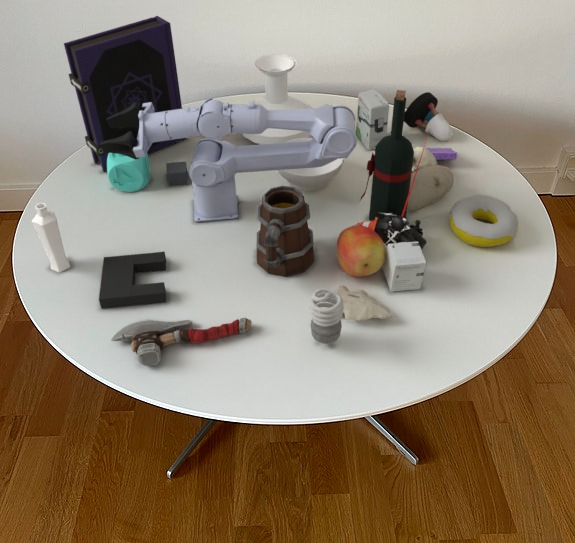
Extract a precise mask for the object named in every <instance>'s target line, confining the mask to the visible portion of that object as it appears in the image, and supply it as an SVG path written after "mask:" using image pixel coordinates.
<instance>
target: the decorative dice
mask: <svg viewBox="0 0 575 543" xmlns="http://www.w3.org/2000/svg"><path fill="white" fill-rule="evenodd" d="M106 172H107V178H108V181H109V183H110V185H111V186H112V187H113V188H115V189H117V190H119V191H121V192H125V193H132V192H134V193H135V192H139V191H141V190H142V189H145V187H146V186H148V185H149V183H150V178H151V177H150V176H151V166H150V158H149V154H147V153H146V156H145V157H139V159H133V158H131V157H128V156H125V155H121V154H116V153H109V154H108V158H107V171H106Z"/></svg>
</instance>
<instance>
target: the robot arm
mask: <svg viewBox="0 0 575 543" xmlns="http://www.w3.org/2000/svg"><path fill="white" fill-rule="evenodd" d="M154 111H155V109H154V107H153V104H152V102H149V103H143V106H142V107H140V106H139V103H138V102H134V103H133V104H132V105H131V106H129V107H128V108H127V109H125V110H123V111H121V112H119V113H117V114H115V115H113V116H110V117H108V118H107V122H108V124H109V126H110V128H121V127H136V128H139V132H138V137H137V139H135V138H134V136H133V134H132V132H131V131H129V132H128V133H126V134H125V135H123V136H120V137H118V138H115V139H110V140H106V141H103V142H101V143H100V146H101V148H102V150H103V152H107V153H116V154H121V155H125V156H128V157H131V158H133V159H139V157H145V156H146V153H147V151H148V149H149V148H150V146H151V145H152V143H153V142H160V141H167V140H174V139H180V138H186V139H187V138H194V137H201V136H203V137H205V138H202V139H200V140H199V141H197V142H196V143H195V145H194V149H193V156H192V160H191V163H190V166H189V169H188V176H189V178H190V180H191V185H192V190H193V191H192V192H193V198H194V199H193V217H194V222H195V223H201V222H202V223H203V222H213V221H224V220H235V219H238V218H239V210H238V204H239V196H238V195H237V187H236V177H235V175H236V174H240V173H241V174H242V173H255V172H271V171H278V170H286V169H301V168H316V167H322V166H325V165H327V164H329V163H331V162H332V161H334V160H336V159H342V158H344V159H347V158H348V157H350V155H351V154H352V153H353V151H354V150H355V148H356V146H357V144H358V136H357V135H356V123H355V122H356V115H355V113H354V111H353V109H351V107H349V106H346V105H343V104H338V105H333V104H324V105H321V106H317V107H311V108H308V109H288V110H267V109H266V108H264V107H263V106H262V105H261V104H255V102H252V101H248V102H247V103H230V102H222V101H220V100H217V99H213V97H210V98H208V99H206V100H204V101H203V102H202V103H201V104H199V105H194V106H189V107H184V108H183V107H182V109H176V110H169V111H162V112H156V113H154ZM268 128H273V129H286V130H299V131H307V132H309V133H310V134H311V138H312V139H311V140H310V141H303V142H289V143H275V144H261V145H258V144H250V145H249V144H247V145H234V144H232V143H231V142H229V141H227V140H220V139H223V138H224V137H225V136H227V135H228V136H229V135H231V134H234V135H242V134H261V133H263V132H264V131H265V130H266V129H268Z"/></svg>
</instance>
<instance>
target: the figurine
mask: <svg viewBox="0 0 575 543" xmlns="http://www.w3.org/2000/svg"><path fill="white" fill-rule="evenodd" d="M438 103H439V100H438V98H437V97H436V96H435V95H434V94H433V93H431V92H429V91H426V92H424V93H421V94H420V95H418V96H417V97H416V98H414V100H412V102H410V104H409V105H408V107H407V108H406V109H405V115H404V124H406V125H407V127H409V128H410V129H413V128H417V127H420V126H421V127H423V128H424V129H425V130H424V132H425V133H427V134H428V133H429V134H431V135H432V136H433V137H434V138H436V139H437V140H438V141H441V142H445V141H449V140H450V139H451V138H452V137H453V133H454V132H453V127H452V126H451V124H450V123H449V122H448V121H447V120H446V119H445V117H444V115H443V114H442V113H439V112H438V111H437V110H436V108H437V106H438ZM425 122H427V123H425ZM429 130H430V131H429Z"/></svg>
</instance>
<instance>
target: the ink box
mask: <svg viewBox="0 0 575 543" xmlns="http://www.w3.org/2000/svg"><path fill="white" fill-rule="evenodd" d="M357 95H358V96H357V111H356V123H355V132H356V136H357V138H359V140H360V141H361V142H362V144H363V145H364V146H365V148H366V149H367V150H368V151H370V150H375V147H376V146H377V144H378V143H379V141H380V140H381V139H382V138H383V137H385V136H388V135H387V134H388V124H389V123H388V122H389V114H390V103H389V102H388V101H387V100H386V98H384V96H383V95H382V94H381V93H380V91H379V90H378V89H376V88H374V89H368V90H364V91H360V92H358V94H357Z"/></svg>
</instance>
